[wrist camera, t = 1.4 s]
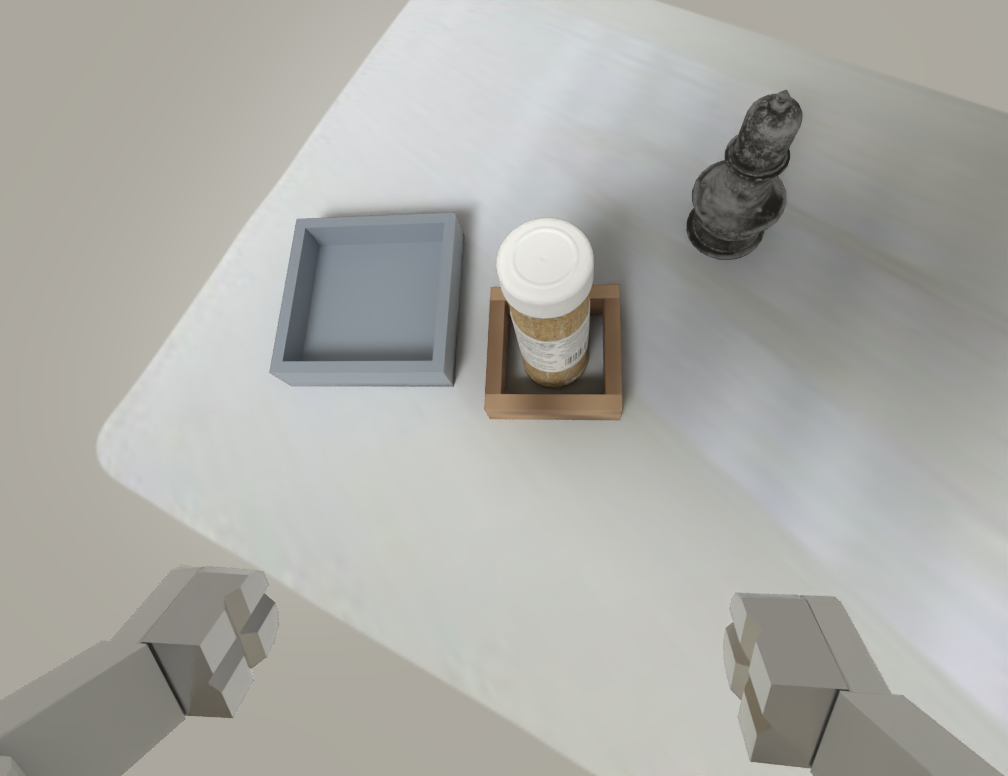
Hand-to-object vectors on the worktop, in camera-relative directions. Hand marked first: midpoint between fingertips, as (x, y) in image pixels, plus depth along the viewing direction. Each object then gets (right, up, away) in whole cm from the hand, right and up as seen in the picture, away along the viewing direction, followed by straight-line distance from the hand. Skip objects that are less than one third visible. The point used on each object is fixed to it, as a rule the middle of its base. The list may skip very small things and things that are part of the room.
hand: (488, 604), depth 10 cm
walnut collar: (+4, +6, +28) cm, 29 cm away
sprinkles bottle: (+4, +6, +28) cm, 29 cm away
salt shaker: (+16, +15, +30) cm, 37 cm away
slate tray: (-9, +10, +31) cm, 34 cm away
